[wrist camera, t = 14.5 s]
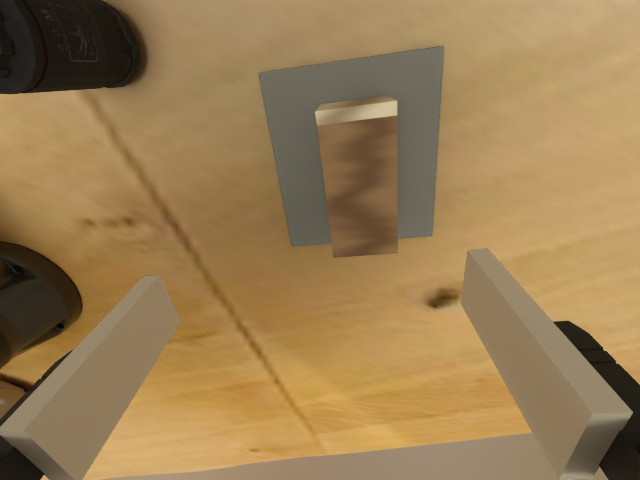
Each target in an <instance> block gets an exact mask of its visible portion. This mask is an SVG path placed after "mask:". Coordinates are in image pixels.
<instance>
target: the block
mask: <svg viewBox="0 0 640 480" xmlns="http://www.w3.org/2000/svg"><path fill="white" fill-rule="evenodd" d="M315 115H316V123H317V129H318V137H319V145H320V153H321V161H322V169H323V177H324V185H325V193H326V201H327V209H328V217H329V225H330V233H331V241H332V249H333V257H334V258H335V257H349V256H363V255H377V254H391V253H398V219H397V100H395V99H393V98H391V97H389V96H387V95H386V96H379V97H371V98H364V99H356V100H349V101H341V102H334V103H327V104H320V106H319V107H318V108H317V110H316V111H315Z"/></svg>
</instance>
